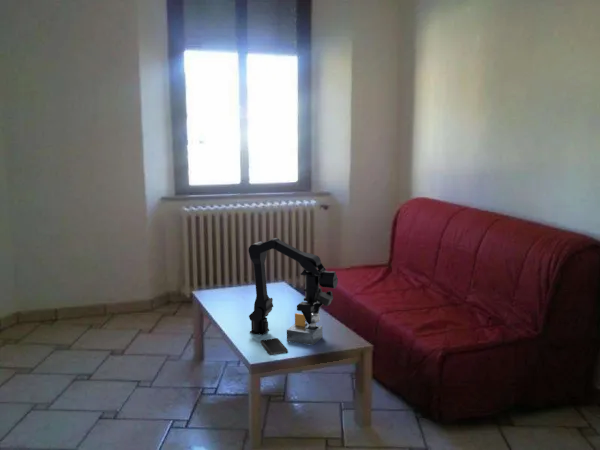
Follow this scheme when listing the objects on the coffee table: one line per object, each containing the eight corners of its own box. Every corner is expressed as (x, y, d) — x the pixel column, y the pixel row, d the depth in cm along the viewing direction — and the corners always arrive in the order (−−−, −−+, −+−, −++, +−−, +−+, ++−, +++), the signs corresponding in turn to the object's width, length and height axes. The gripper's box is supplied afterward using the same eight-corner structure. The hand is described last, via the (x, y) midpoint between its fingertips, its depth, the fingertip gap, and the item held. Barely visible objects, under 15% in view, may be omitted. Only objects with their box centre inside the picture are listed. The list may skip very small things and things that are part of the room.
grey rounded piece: (303, 331, 246) (303, 314, 244) (308, 326, 251) (308, 310, 250) (316, 333, 243) (316, 316, 242) (321, 328, 249) (321, 312, 247)
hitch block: (286, 341, 246) (286, 329, 245) (296, 333, 255) (296, 322, 254) (313, 345, 241) (313, 333, 240) (322, 337, 250) (322, 326, 249)
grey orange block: (295, 325, 250) (294, 313, 250) (297, 322, 253) (297, 311, 252) (304, 326, 249) (304, 315, 248) (307, 324, 251) (307, 313, 250)
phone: (269, 353, 231) (259, 340, 245) (269, 356, 231) (259, 342, 245) (288, 350, 234) (277, 337, 247) (288, 353, 234) (277, 340, 248)
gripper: (321, 294, 232) (321, 331, 235) (338, 282, 249) (338, 317, 252) (296, 290, 237) (296, 327, 239) (314, 279, 253) (314, 314, 256)
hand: (312, 321), depth 247 cm, fingers closed on grey rounded piece, 6 cm apart
